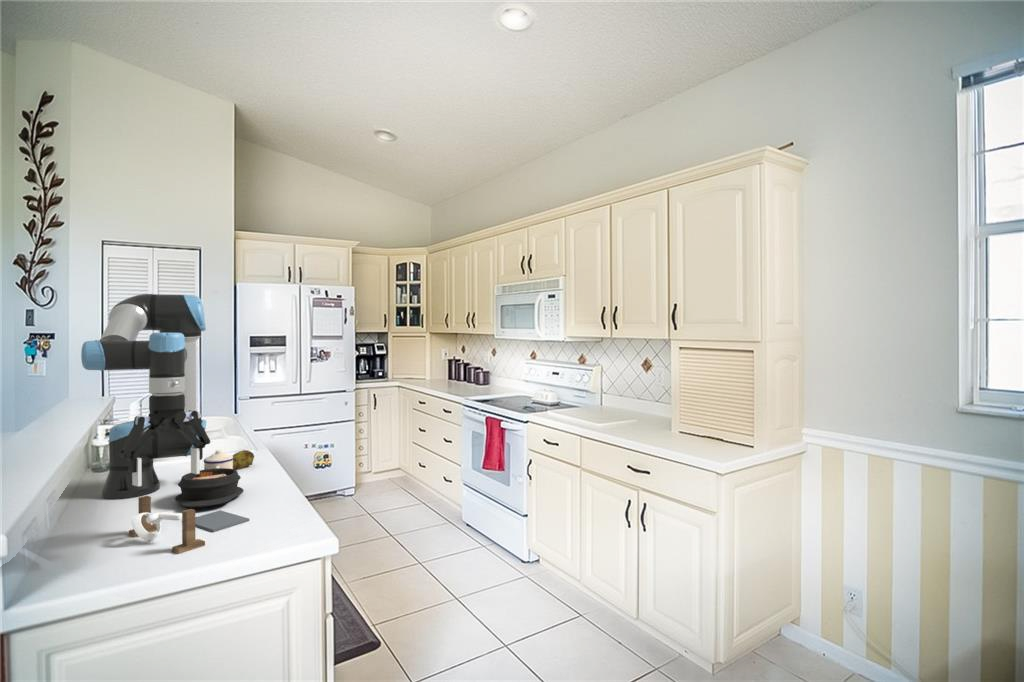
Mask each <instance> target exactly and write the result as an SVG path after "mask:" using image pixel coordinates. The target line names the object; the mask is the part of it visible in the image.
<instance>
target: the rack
mask: <svg viewBox="0 0 1024 682" xmlns="http://www.w3.org/2000/svg"><path fill="white" fill-rule="evenodd" d="M145 512H148V513H152V497H151V496H149V495H145V496H141V497H138V514H140V513H145ZM181 513H182V520H181V524H182V525H181V528H182V529H181V542H182V543H179V544H177V545H174V546H171V551H172V553H176V554H179V555H180V554H184V553H186V552H188V551H192V550H195V549H198V548H200V547H204V546H206V541H205V540H203V539H200V538H196V526H195V517H196V510H195V509H193V508H190V509H189V508H188V509H185V510H182V511H181ZM146 518H147V516H145V515H143V516H142V518H141V523H142V526H143V527H144V529H145V530H146V531H148V532H149V533H153V532H156V531H157V527H156V525H155V524H153V523H150V524H149V523H147V522H146ZM128 535H129V536H132V537H137V536H138V535H137V534H136V532H135V531H134V529H133V528H132V529H130V530H129V529H128ZM138 537H139V536H138Z"/></svg>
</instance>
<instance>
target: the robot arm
mask: <svg viewBox="0 0 1024 682" xmlns="http://www.w3.org/2000/svg"><path fill="white" fill-rule="evenodd" d="M108 322H109V323H107V326H106V328H105V329H104V331H103V333H102V334H101V336H100V339H99V340H98V339H95V340H85V341H84V342H83V343H82V346H81V351H80V352H81V356H80V357H81V365H82V368H84V369H85V370H86V371H100V372H102V371H103V372H104V371H123V370H124V371H125V370H126V371H127V370H128V371H130V370H148V371H149V372H148V373H149V374H148V375H149V376H148V393H149V394H150V396H149V397H148V411H149V414H148V416H140V415H137V416H135V417H134V420H132V421H131V420H130V421H126V422H125V421H124V422H121V423H118V424H114V425H113V426H112V427H111V428H110V429H109V436H108V447H109V448H108V455H109V456H108V457H109V458H108V459H109V460H108V461H109V462H108V464H109V465H108V468H109V469H108V475H107V477H106V479H105V483H104V485H103V487H102V491H101V493H102V495H101V496H102V498H103V499H105V500H111V501H113V500H114V501H115V500H116V501H117V500H118V501H119V500H128V499H129V500H130V499H134V498H135V499H136V498H139V497H144V496H149V495H152V494H154V493H155V492H157V491H159V490H160V488H161V486H160V485H161V484H160V483H161V482H160V480H159V478H158V475H157V473H156V470H155V467H154V460H157V459H166V458H167V459H168V458H176V457H177V458H178V457H188V456H190V473H194V474H200V470H201V469H200V468H201V467H200V461H203V456H204V455H203V453H204V452H203V449H205V448H206V446H207V445H209V444H211V439H210V437H209V436H208V434H207V432H206V427H207V420H205V419H202V414H201V413H199V412H198V410H197V347H196V345H197V341H198V339H199V338H201V337H202V332H205V331H206V330H207V326H206V319H205V313H204V306H203V301H202V299H201V297H199V296H197V295H187V294H158V293H157V294H155V293H154V294H153V293H142V294H137V295H134V296H130V297H128V298H126V299H123V300H121V301H119V302H118V303H116V304H115V305H114V306H113V307H112V309H111V310H110V312H109V314H108ZM141 331H159V332H152V333H151V334H150V335H149V338H148V339H149V340H137V337H138V336H139V334H140V333H139V332H141Z"/></svg>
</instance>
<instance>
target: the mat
mask: <svg viewBox="0 0 1024 682" xmlns="http://www.w3.org/2000/svg"><path fill="white" fill-rule="evenodd" d="M249 521H250V518H249V517H246V516H245V517H244V516H241V515H239V514H234V513H231V512H228V511H225V510H221V509H220V510H216V511H212V512H210V513H206V514H202V515H199V516H195V528H196V527H197V528H198V529H199V528H200V529H203V530H206V531H209V532H211V533H215V532H218V531H222V530H224V529H227V528H231V527H234V526H237V525H241V524H244V523H246V522H249Z"/></svg>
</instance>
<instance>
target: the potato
mask: <svg viewBox="0 0 1024 682" xmlns="http://www.w3.org/2000/svg"><path fill="white" fill-rule="evenodd" d="M232 456H233V458H234V459H233V469H234V470H237V471H238V470H242V469H244V468H246V467H249V466H252V465H253V462H254V459H255V455H254V453H253V452H252V451H250V450H245V449H243V450H240V451H238V452H236V453H234V454H232Z"/></svg>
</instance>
